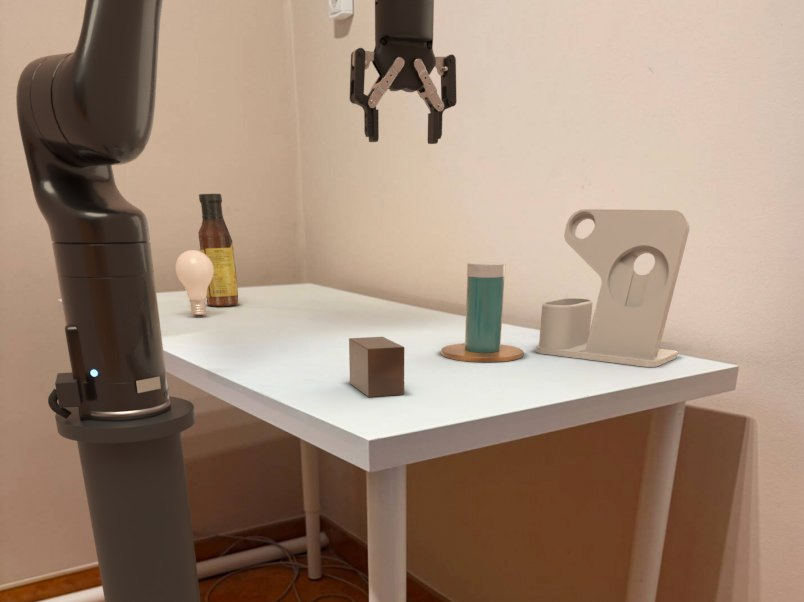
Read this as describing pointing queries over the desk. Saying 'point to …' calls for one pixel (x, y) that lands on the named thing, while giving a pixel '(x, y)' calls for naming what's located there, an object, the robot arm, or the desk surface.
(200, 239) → the sauce bottle
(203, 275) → the lightbulb
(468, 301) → the salt shaker
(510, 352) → the cork coaster
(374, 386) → the walnut block
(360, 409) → the desk surface
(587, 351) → the phone holder
